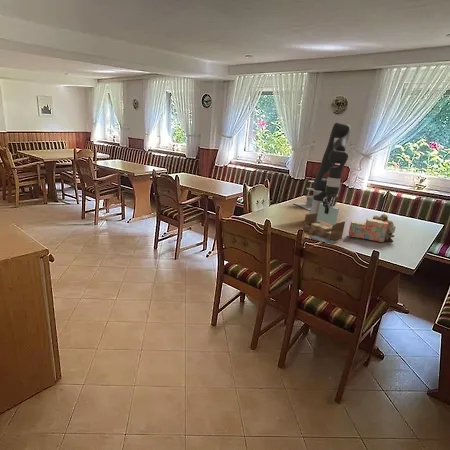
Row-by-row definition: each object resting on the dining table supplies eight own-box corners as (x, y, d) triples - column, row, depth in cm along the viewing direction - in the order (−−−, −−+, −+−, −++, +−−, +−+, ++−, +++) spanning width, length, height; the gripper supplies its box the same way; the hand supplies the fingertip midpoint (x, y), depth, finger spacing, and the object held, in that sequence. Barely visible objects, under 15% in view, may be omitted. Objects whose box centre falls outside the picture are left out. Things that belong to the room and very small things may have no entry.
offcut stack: (308, 229, 221) (309, 223, 219) (313, 228, 224) (314, 222, 222) (329, 237, 209) (330, 230, 208) (333, 235, 212) (334, 229, 211)
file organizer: (342, 209, 290) (347, 185, 283) (310, 210, 276) (314, 185, 270) (324, 202, 312) (328, 179, 306) (292, 202, 299) (296, 179, 292)
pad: (309, 237, 208) (309, 236, 208) (316, 235, 213) (317, 234, 213) (328, 244, 198) (328, 244, 197) (335, 242, 203) (335, 241, 202)
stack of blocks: (348, 236, 214) (352, 218, 210) (348, 233, 220) (352, 215, 216) (384, 242, 208) (388, 223, 204) (382, 239, 214) (387, 221, 210)
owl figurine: (361, 237, 218) (367, 212, 213) (366, 233, 227) (372, 209, 222) (391, 245, 208) (397, 219, 203) (394, 241, 217) (401, 216, 212)
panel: (316, 219, 205) (319, 203, 202) (319, 218, 207) (322, 203, 203) (333, 224, 196) (336, 208, 193) (335, 224, 198) (339, 208, 195)
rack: (303, 229, 222) (305, 214, 219) (313, 227, 229) (316, 212, 226) (331, 240, 206) (334, 223, 203) (341, 237, 213) (345, 221, 210)
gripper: (334, 183, 202) (328, 210, 207) (320, 184, 193) (315, 212, 198) (345, 185, 196) (339, 213, 202) (331, 187, 188) (326, 216, 193)
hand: (327, 213), depth 200 cm, fingers closed on panel, 2 cm apart
